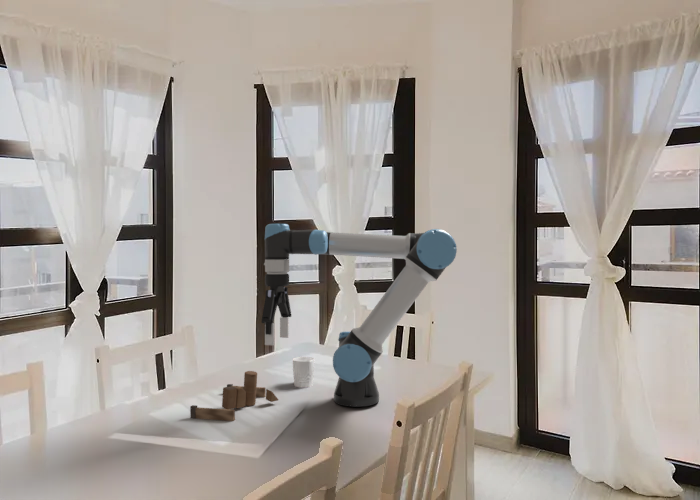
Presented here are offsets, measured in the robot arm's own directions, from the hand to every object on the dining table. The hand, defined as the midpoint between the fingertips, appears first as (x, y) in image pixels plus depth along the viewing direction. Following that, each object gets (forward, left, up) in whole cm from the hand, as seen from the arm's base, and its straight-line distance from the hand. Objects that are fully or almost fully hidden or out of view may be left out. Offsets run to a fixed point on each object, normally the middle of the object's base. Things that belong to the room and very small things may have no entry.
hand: (277, 341), depth 161 cm
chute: (+15, 0, -21) cm, 26 cm away
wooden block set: (+10, 0, -22) cm, 24 cm away
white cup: (0, -28, -22) cm, 35 cm away
